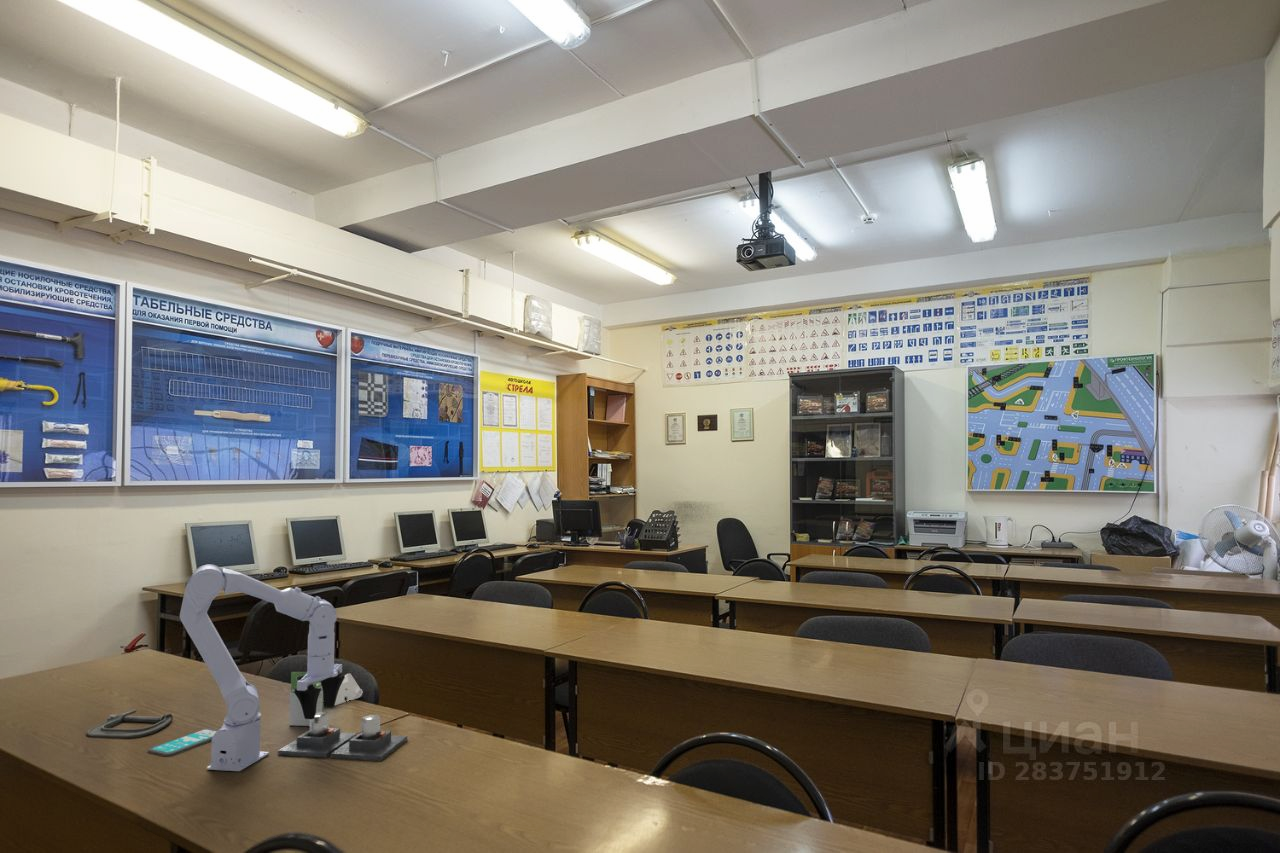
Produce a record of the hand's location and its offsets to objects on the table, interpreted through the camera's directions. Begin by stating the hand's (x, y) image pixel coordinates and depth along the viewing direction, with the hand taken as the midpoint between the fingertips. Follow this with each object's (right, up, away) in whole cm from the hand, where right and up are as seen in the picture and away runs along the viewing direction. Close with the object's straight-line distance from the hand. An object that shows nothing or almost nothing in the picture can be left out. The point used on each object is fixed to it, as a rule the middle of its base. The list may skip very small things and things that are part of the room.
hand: (319, 712), depth 160 cm
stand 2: (+13, -7, -2) cm, 15 cm away
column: (+13, -6, -2) cm, 14 cm away
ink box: (-10, -9, +14) cm, 19 cm away
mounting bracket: (-11, -10, +32) cm, 35 cm away
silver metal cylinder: (0, -6, -1) cm, 6 cm away
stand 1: (0, -8, -1) cm, 8 cm away
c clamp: (-53, -10, +14) cm, 56 cm away
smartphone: (-32, -9, +2) cm, 33 cm away
